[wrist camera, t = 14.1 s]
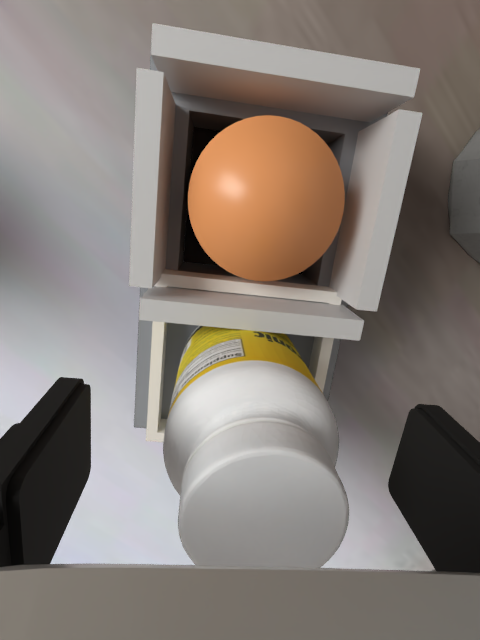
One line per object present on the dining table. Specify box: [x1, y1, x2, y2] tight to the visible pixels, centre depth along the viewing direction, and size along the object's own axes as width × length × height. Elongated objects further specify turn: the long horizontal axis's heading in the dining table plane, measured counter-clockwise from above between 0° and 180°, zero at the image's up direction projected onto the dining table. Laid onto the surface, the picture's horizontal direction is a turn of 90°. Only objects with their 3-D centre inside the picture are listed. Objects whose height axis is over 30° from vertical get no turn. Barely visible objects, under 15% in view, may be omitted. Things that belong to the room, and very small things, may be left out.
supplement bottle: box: [163, 326, 349, 568], centre depth 13 cm, size 5×5×10 cm
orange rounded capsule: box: [188, 115, 345, 281], centre depth 16 cm, size 6×6×5 cm
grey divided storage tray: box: [129, 23, 422, 442], centre depth 16 cm, size 17×10×6 cm, turn 173°
